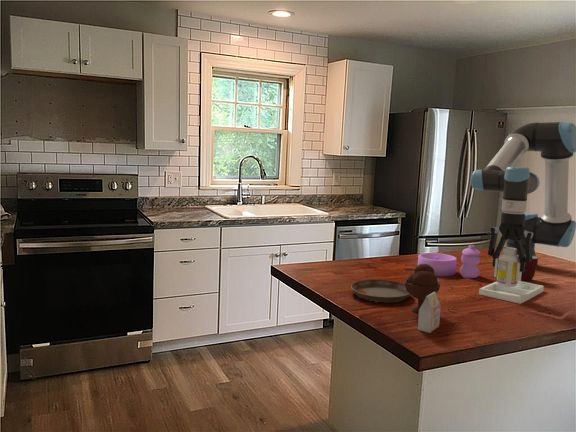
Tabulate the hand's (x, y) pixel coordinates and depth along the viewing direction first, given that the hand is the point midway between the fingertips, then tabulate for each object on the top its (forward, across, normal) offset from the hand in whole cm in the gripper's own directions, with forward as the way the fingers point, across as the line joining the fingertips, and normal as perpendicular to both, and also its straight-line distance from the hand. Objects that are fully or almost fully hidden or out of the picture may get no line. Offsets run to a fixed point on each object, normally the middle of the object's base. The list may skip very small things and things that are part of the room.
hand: (507, 278), depth 173 cm
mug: (+7, -4, +27) cm, 29 cm away
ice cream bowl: (+7, -12, -37) cm, 39 cm away
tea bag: (+7, -3, -48) cm, 48 cm away
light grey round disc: (+6, 0, +11) cm, 12 cm away
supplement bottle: (+2, 0, 0) cm, 2 cm away
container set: (+7, -30, +16) cm, 35 cm away
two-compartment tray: (+7, 0, +5) cm, 9 cm away
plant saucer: (+8, -30, -32) cm, 44 cm away
